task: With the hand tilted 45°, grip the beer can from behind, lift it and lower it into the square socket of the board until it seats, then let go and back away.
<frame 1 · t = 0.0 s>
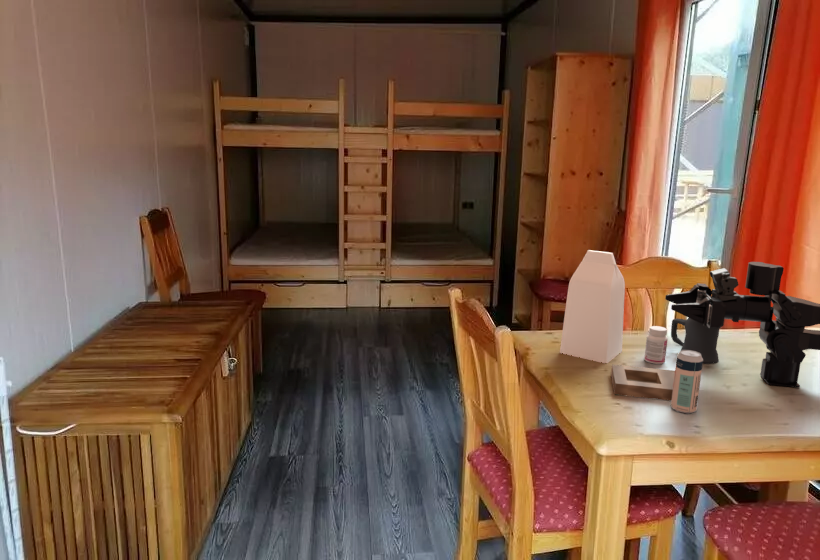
hand: (668, 302, 144), 17 cm above the table, tool horizontal, fingers open, 9 cm apart
beer can: (683, 410, 125), on the table
milk: (590, 353, 158), on the table
mug: (692, 356, 157), on the table
pill bottle: (654, 361, 153), on the table
socket board: (641, 387, 136), on the table
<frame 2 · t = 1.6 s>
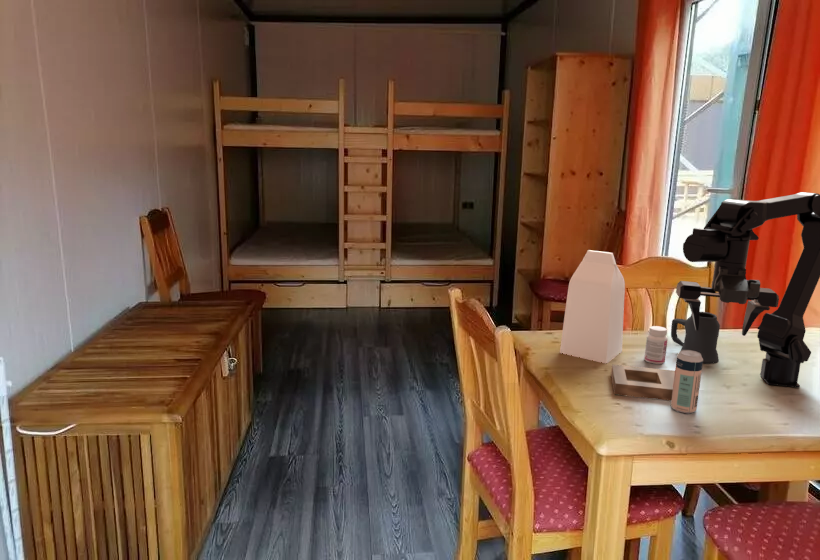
hand: (719, 332, 133), 13 cm above the table, tool pointing down, fingers open, 9 cm apart
nothing on the table moved.
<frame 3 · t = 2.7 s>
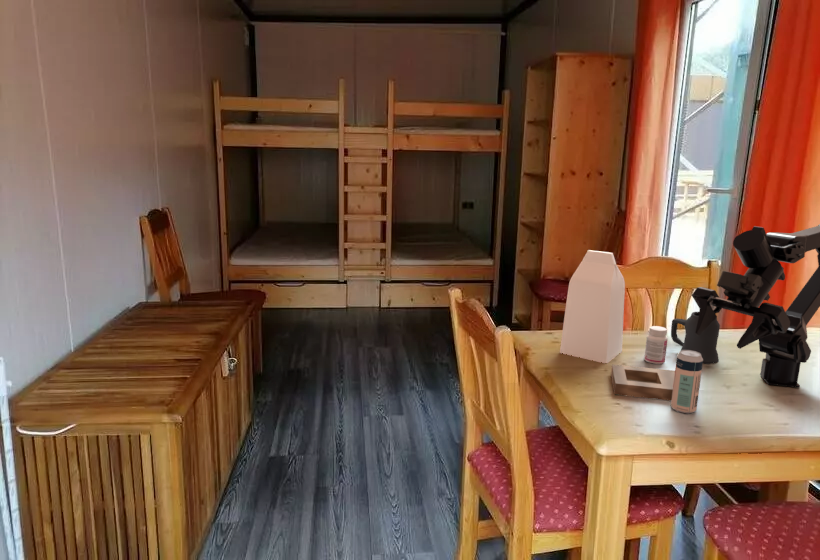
hand: (716, 340, 126), 13 cm above the table, tool tilted 45°, fingers open, 9 cm apart
nothing on the table moved.
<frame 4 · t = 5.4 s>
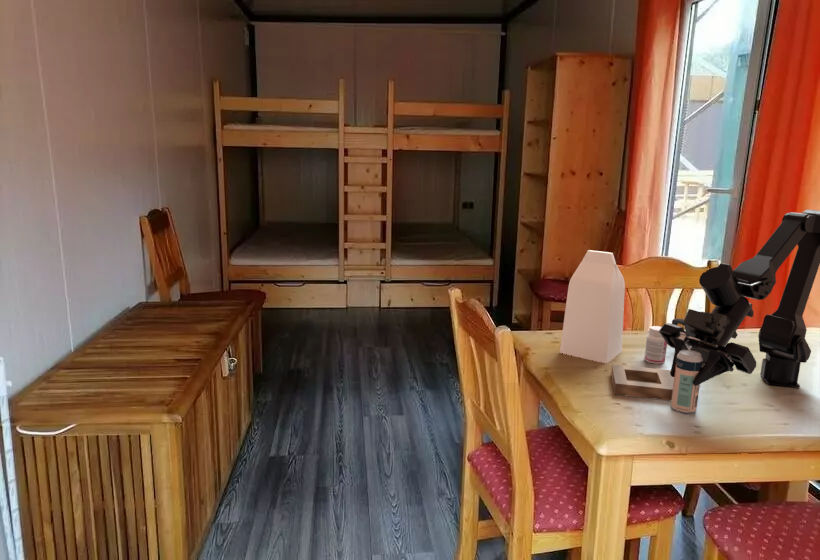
hand: (682, 380, 123), 7 cm above the table, tool tilted 45°, fingers closed on beer can, 5 cm apart
beer can: (683, 410, 125), on the table, touching gripper
everything else where it was.
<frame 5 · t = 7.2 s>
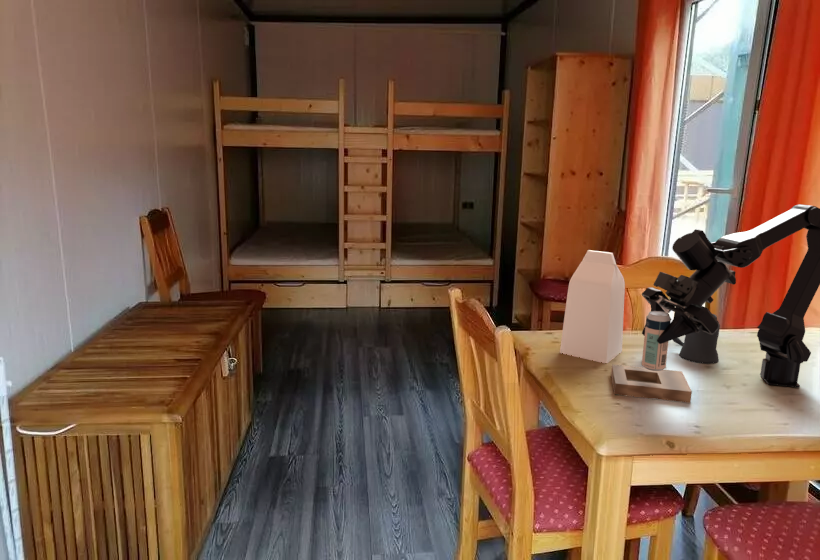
hand: (650, 338, 130), 12 cm above the table, tool tilted 45°, fingers closed on beer can, 5 cm apart
beer can: (653, 368, 132), point 5 cm above the table, touching gripper
everything else where it was.
when the fingers open (7 cm above the table, at t = 9.0 s): beer can stays where it is, resting on socket board.
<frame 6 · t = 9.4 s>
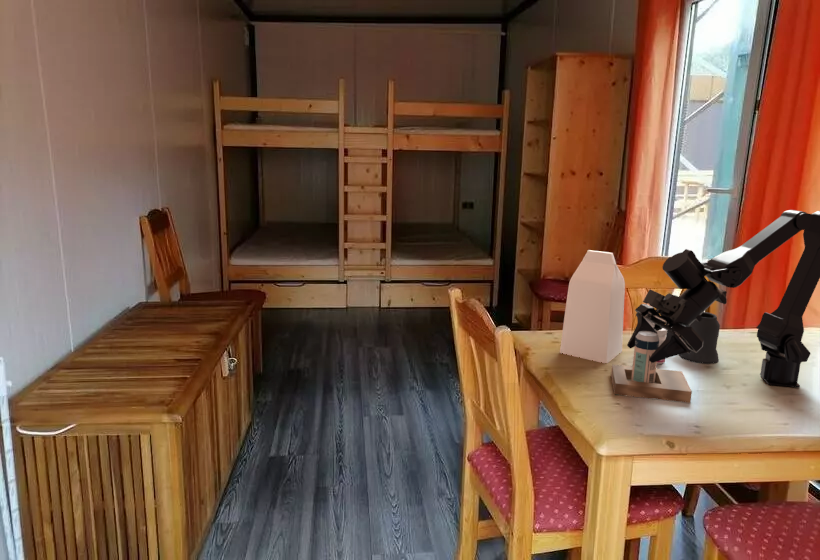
hand: (638, 353, 134), 8 cm above the table, tool tilted 45°, fingers open, 9 cm apart
beer can: (642, 387, 136), resting on socket board
everything else where it was.
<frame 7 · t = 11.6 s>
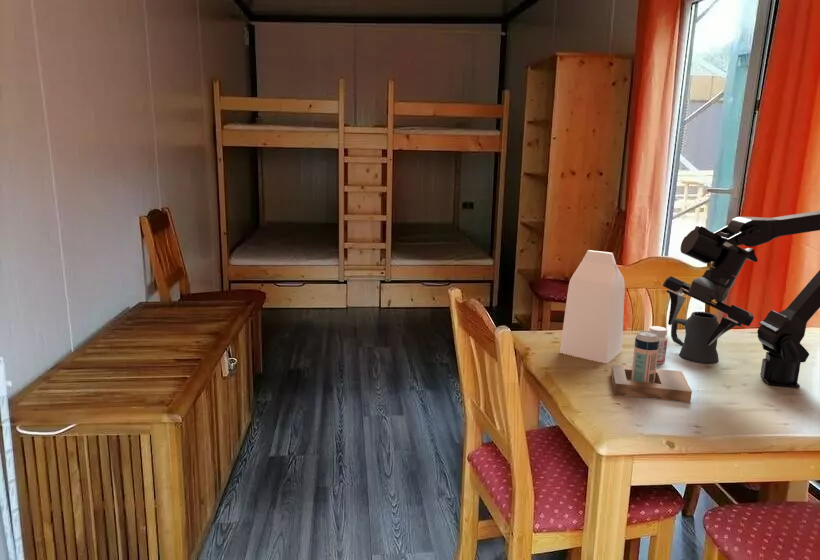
hand: (688, 334, 139), 11 cm above the table, tool tilted 20°, fingers open, 9 cm apart
nothing on the table moved.
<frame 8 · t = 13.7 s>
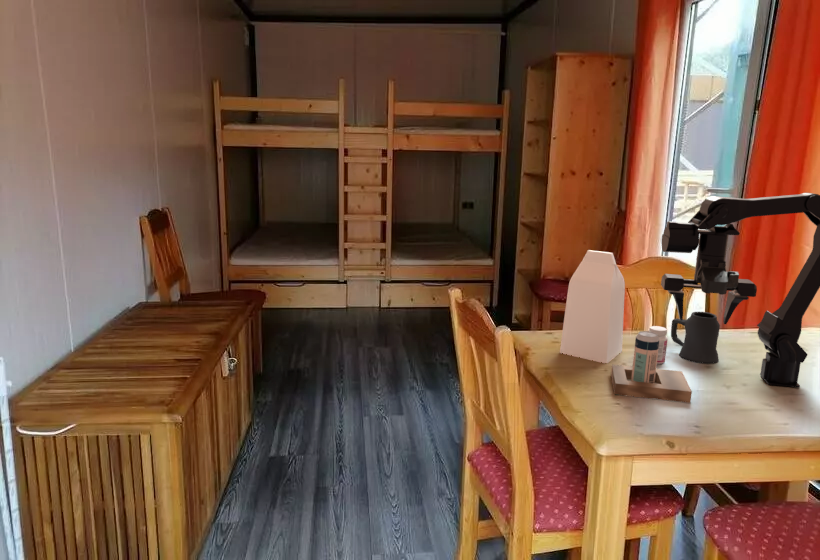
hand: (702, 322, 141), 13 cm above the table, tool pointing down, fingers open, 9 cm apart
nothing on the table moved.
at the end: beer can 0.2 cm off-centre on the socket board, point 0.0 cm above the socket board's base; beer can tilted 0°; the gripper is holding nothing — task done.
